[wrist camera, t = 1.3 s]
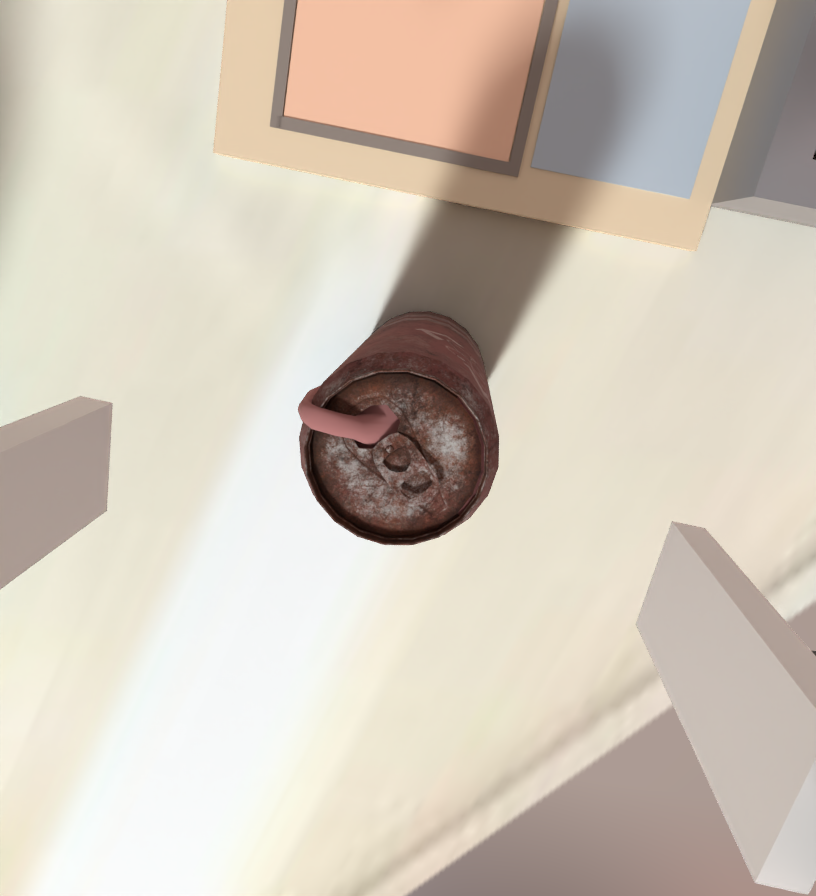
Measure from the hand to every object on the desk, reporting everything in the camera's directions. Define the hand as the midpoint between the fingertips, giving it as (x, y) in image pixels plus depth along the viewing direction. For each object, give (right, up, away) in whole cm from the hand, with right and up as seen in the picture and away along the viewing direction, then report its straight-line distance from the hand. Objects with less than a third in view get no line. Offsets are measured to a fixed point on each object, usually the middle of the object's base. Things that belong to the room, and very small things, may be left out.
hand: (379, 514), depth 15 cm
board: (+4, +18, +13) cm, 23 cm away
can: (+1, +5, +17) cm, 18 cm away
